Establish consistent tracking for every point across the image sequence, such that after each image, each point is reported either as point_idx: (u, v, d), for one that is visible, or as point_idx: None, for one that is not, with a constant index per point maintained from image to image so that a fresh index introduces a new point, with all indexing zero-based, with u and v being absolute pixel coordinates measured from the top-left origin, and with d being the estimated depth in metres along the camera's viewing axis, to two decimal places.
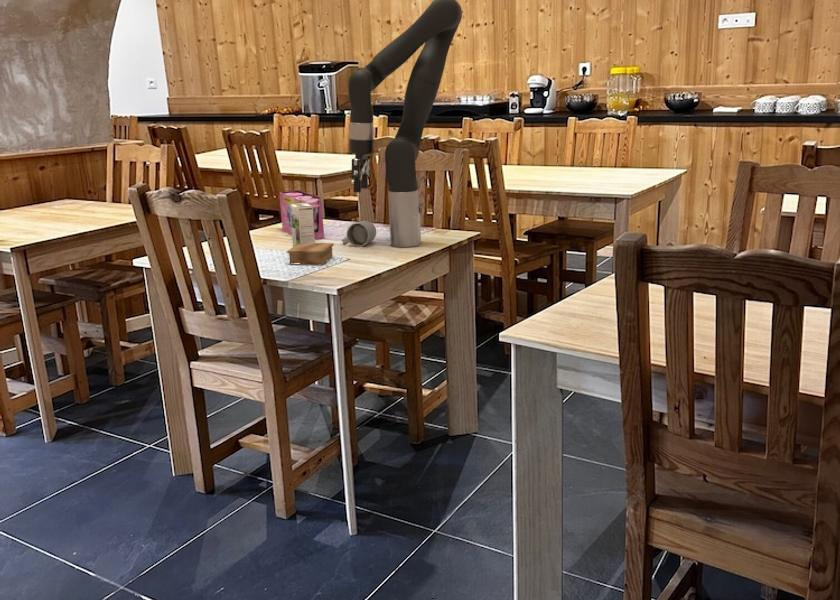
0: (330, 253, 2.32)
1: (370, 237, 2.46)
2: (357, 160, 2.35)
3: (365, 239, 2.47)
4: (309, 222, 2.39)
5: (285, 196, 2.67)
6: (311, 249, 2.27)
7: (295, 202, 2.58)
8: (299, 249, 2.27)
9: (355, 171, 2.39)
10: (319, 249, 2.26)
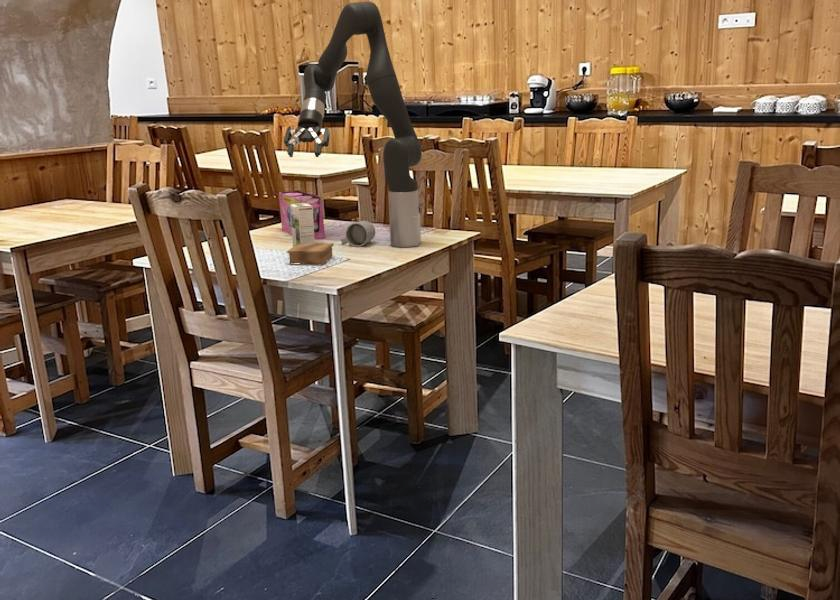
0: (330, 253, 2.32)
1: (369, 237, 2.46)
2: None
3: (364, 239, 2.47)
4: (309, 222, 2.39)
5: (285, 196, 2.67)
6: (311, 249, 2.27)
7: (295, 202, 2.58)
8: (299, 249, 2.27)
9: None
10: (319, 249, 2.26)
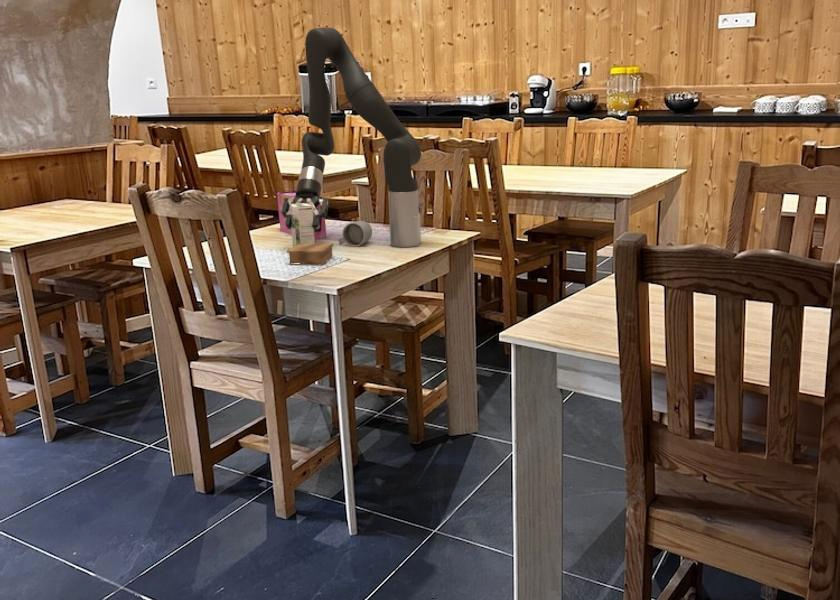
0: (330, 253, 2.32)
1: (366, 237, 2.47)
2: None
3: (361, 239, 2.47)
4: (309, 222, 2.39)
5: (284, 196, 2.67)
6: (311, 249, 2.27)
7: None
8: (299, 249, 2.27)
9: None
10: (319, 249, 2.26)
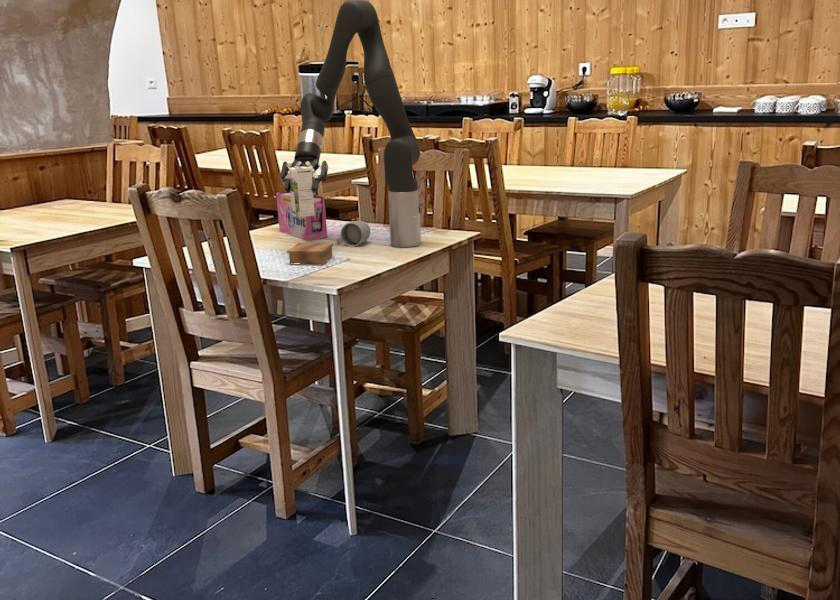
0: (330, 253, 2.32)
1: (364, 237, 2.47)
2: None
3: (359, 239, 2.47)
4: (308, 185, 2.33)
5: (284, 196, 2.67)
6: (311, 249, 2.27)
7: None
8: (299, 249, 2.27)
9: None
10: (319, 249, 2.26)
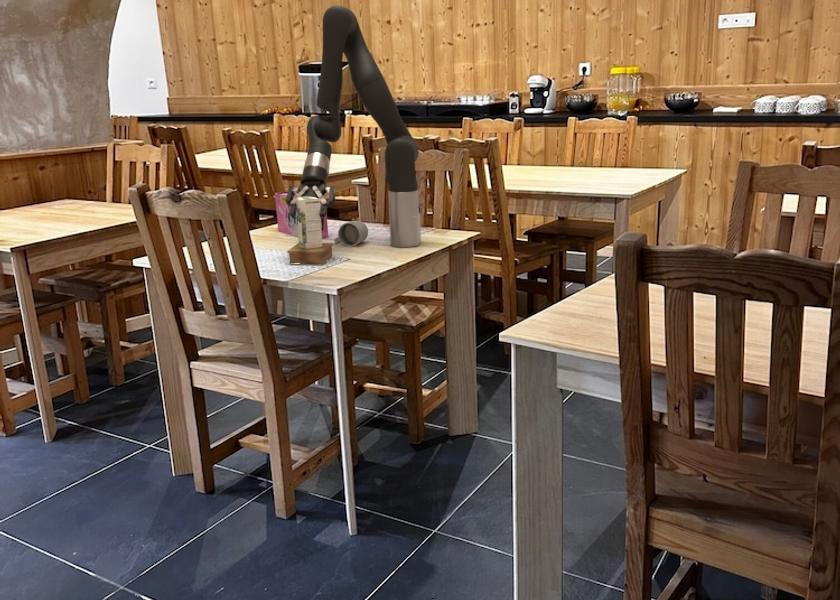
0: (330, 253, 2.32)
1: (361, 237, 2.47)
2: None
3: (356, 239, 2.48)
4: (316, 216, 2.25)
5: (284, 196, 2.67)
6: (311, 249, 2.27)
7: None
8: (299, 249, 2.27)
9: None
10: (319, 249, 2.26)
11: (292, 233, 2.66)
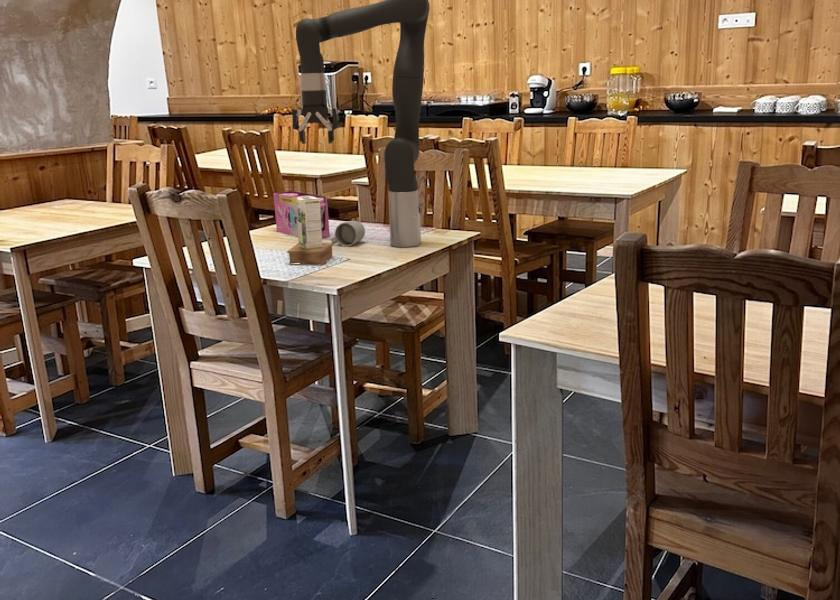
0: (330, 253, 2.32)
1: (358, 237, 2.47)
2: None
3: (353, 239, 2.48)
4: (316, 216, 2.25)
5: (283, 197, 2.66)
6: (311, 249, 2.27)
7: None
8: (299, 249, 2.27)
9: None
10: (319, 249, 2.26)
11: (292, 233, 2.66)
